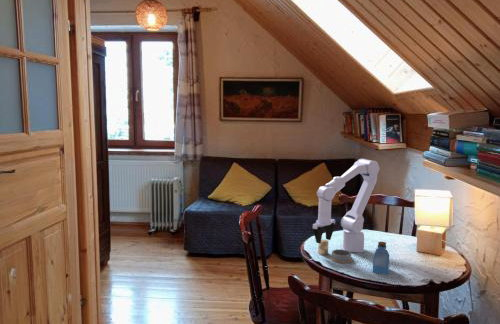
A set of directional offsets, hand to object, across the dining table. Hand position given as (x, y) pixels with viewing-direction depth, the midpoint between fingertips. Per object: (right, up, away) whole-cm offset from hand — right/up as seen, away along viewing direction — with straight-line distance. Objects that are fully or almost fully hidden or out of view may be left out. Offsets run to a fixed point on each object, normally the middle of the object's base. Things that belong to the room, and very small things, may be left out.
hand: (323, 241), depth 189 cm
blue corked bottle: (+21, -9, -18) cm, 29 cm away
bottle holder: (+7, -7, -6) cm, 11 cm away
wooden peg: (0, -6, +1) cm, 6 cm away
